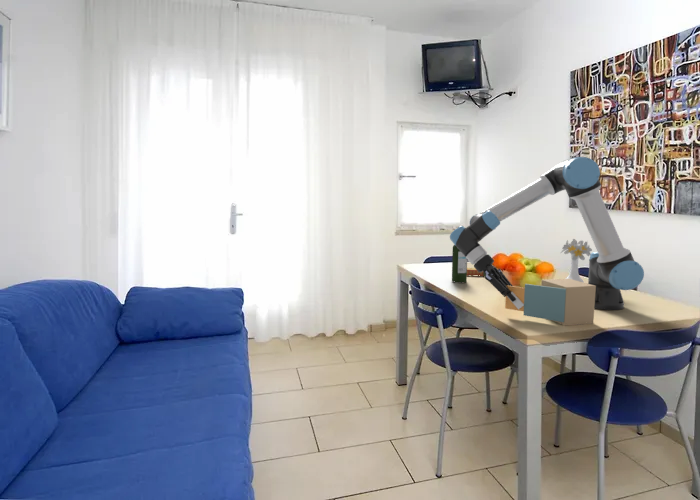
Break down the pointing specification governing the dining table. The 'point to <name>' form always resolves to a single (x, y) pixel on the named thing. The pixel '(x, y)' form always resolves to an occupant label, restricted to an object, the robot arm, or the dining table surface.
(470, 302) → the dining table surface
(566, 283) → the kraft box
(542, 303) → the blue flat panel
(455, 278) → the wine bottle
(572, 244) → the flower vase
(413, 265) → the dining table surface
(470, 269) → the carton
